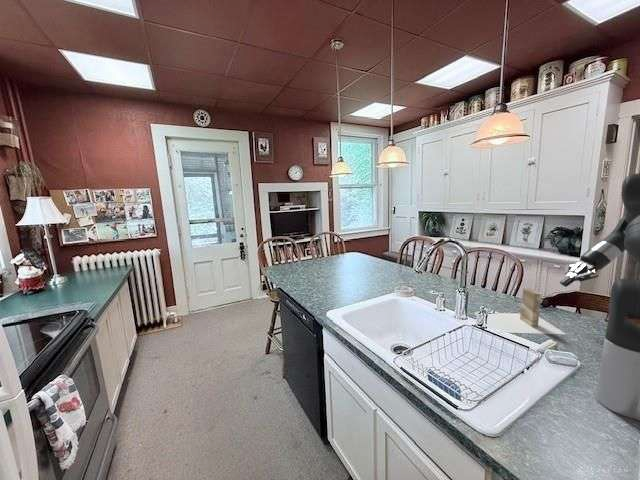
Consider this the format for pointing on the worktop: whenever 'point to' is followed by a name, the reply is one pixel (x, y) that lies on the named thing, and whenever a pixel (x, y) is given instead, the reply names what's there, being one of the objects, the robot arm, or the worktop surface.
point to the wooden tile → (530, 307)
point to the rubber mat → (519, 324)
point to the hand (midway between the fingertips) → (562, 284)
